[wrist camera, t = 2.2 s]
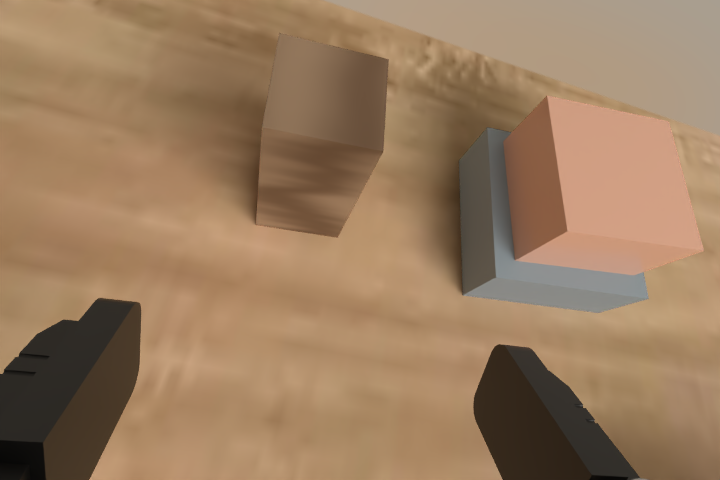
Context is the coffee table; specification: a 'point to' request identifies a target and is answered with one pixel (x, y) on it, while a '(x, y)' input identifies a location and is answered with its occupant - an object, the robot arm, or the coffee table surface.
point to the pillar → (319, 135)
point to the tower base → (496, 250)
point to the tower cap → (597, 190)
